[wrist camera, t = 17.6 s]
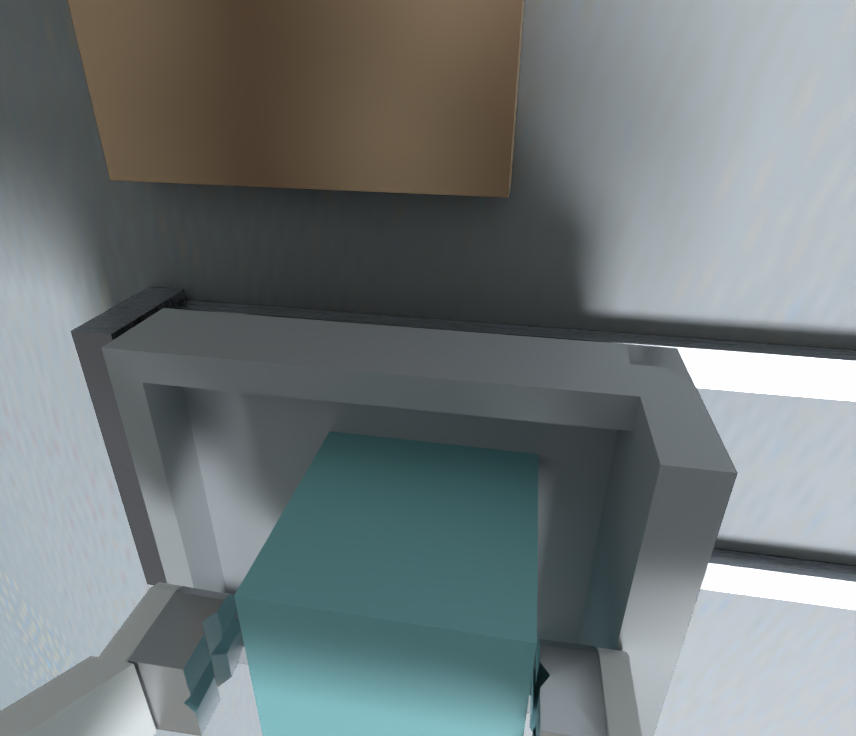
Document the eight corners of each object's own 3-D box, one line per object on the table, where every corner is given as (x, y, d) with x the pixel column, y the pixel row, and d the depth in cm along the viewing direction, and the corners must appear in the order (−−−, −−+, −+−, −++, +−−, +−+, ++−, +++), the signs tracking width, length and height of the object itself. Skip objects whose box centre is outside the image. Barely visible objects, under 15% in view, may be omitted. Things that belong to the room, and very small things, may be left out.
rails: (1496, 384, 11) (1783, 479, 9) (1231, 652, 15) (1377, 775, 12) (149, 286, 16) (70, 331, 13) (200, 514, 19) (147, 583, 17)
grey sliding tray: (661, 315, 13) (737, 473, 8) (601, 599, 17) (626, 819, 12) (202, 283, 14) (24, 396, 10) (250, 549, 19) (144, 725, 14)
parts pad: (536, -168, 10) (536, -195, 9) (511, 186, 13) (508, 197, 12) (75, -145, 11) (27, -167, 10) (142, 172, 14) (110, 180, 13)
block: (538, 453, 12) (536, 643, 8) (520, 605, 14) (511, 814, 10) (330, 431, 13) (234, 595, 9) (341, 578, 15) (268, 765, 11)
